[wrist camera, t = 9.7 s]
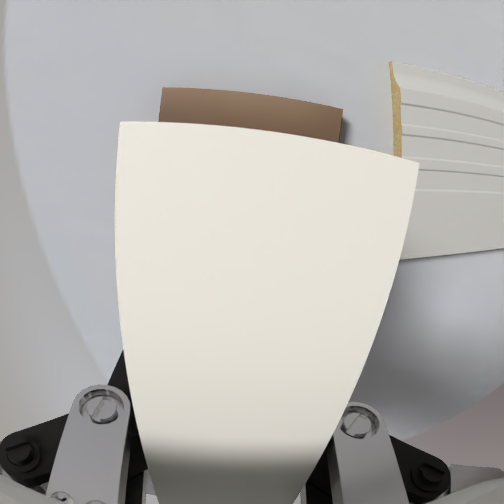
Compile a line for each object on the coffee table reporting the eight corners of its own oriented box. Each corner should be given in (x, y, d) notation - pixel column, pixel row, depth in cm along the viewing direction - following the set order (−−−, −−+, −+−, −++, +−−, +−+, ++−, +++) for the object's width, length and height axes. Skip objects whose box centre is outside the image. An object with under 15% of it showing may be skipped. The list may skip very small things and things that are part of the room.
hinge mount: (167, 90, 12) (142, 75, 9) (336, 110, 13) (369, 103, 9) (160, 366, 18) (147, 412, 14) (283, 376, 19) (292, 423, 15)
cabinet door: (181, 139, 11) (39, 125, 2) (285, 150, 11) (419, 163, 3) (174, 384, 15) (146, 539, 6) (249, 391, 15) (260, 548, 7)
